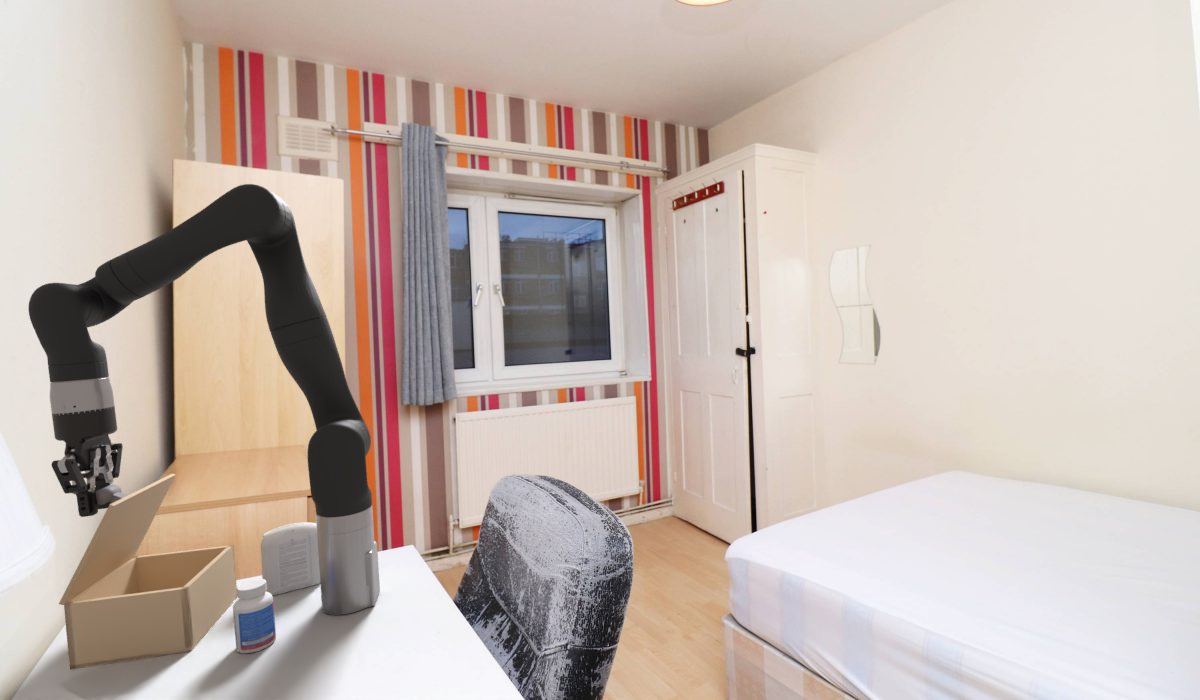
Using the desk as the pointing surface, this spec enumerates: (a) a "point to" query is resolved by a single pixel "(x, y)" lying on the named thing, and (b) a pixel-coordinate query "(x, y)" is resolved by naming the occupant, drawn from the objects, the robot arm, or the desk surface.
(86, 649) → the carton
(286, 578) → the photo printer
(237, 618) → the pill bottle
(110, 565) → the carton lid
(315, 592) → the desk surface
